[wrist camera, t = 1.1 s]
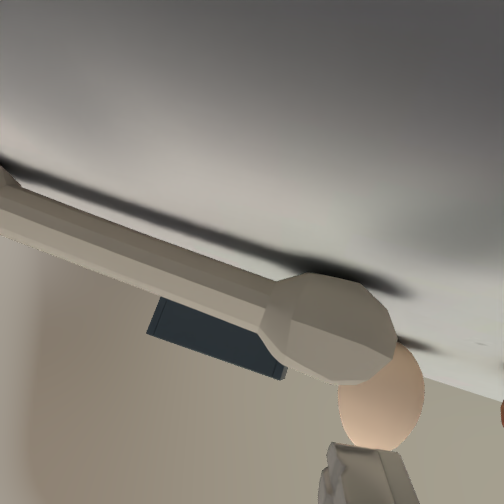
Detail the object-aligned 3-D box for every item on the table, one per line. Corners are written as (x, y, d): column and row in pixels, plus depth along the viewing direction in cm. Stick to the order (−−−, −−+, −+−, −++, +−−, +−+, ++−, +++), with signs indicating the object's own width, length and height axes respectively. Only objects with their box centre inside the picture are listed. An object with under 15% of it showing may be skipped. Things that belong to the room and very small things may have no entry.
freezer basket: (199, 301, 41) (184, 344, 40) (167, 277, 31) (145, 333, 30) (298, 333, 39) (284, 379, 38) (298, 318, 29) (280, 380, 27)
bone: (430, 295, 13) (406, 410, 12) (364, 307, 18) (343, 389, 17) (-109, 96, 12) (-184, 207, 11) (-19, 169, 17) (-64, 249, 16)
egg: (444, 349, 21) (419, 479, 20) (422, 355, 26) (400, 460, 24) (355, 322, 22) (324, 442, 21) (350, 332, 27) (324, 432, 25)
